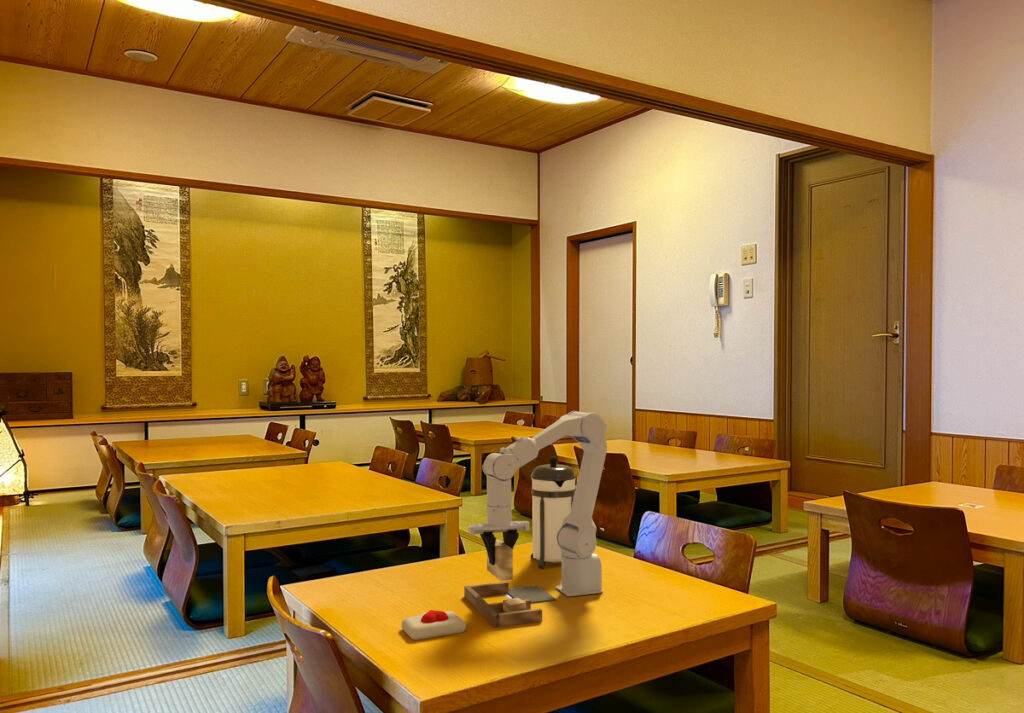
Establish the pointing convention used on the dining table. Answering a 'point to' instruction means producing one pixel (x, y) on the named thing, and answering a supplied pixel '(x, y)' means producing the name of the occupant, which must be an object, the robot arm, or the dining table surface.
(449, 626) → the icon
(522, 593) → the mat
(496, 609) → the rack
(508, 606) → the offcut upper
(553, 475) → the coffee press
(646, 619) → the dining table surface
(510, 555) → the tan wooden block
